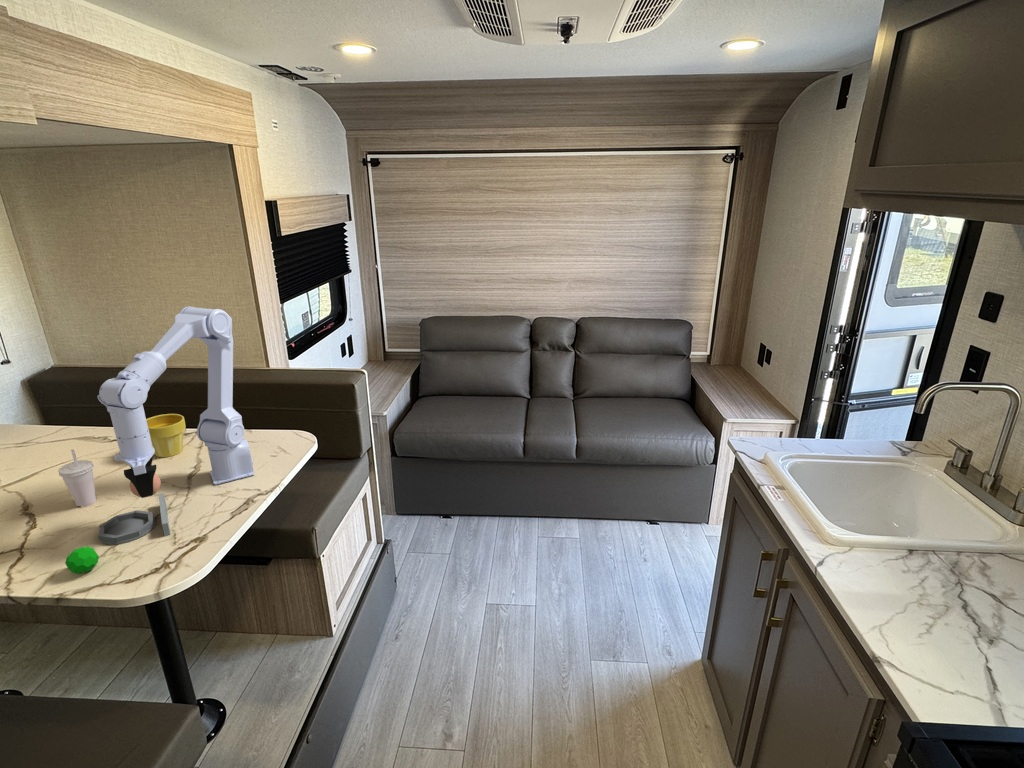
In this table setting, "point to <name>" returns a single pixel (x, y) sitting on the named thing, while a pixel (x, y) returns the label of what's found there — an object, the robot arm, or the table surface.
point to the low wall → (164, 515)
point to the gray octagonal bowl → (126, 527)
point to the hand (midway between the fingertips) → (146, 489)
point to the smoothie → (79, 480)
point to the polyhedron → (82, 560)
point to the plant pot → (166, 434)
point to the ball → (155, 485)
